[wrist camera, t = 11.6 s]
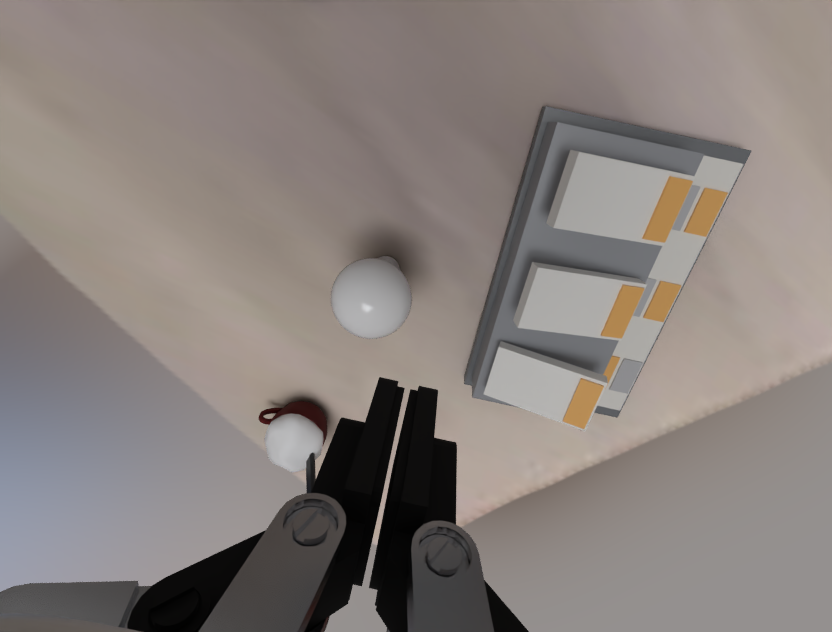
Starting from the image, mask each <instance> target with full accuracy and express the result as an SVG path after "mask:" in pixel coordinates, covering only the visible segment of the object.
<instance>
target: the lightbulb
mask: <svg viewBox="0 0 832 632" xmlns="http://www.w3.org/2000/svg"><path fill="white" fill-rule="evenodd" d="M411 304H412V293H411V288H410V285H409V283H408V280H407V279H406V277H405V275H404V274H403V273H402V272H401V271H400V267H399V264H398V263H397V261H396V260H395V259H393V258H392V257H389V256H381V257H379V258H366V259H361V260H357V261H355V262H353V263H351V264H349V265H348V266H346V267H345V268H344V269H343V270H342V271H341V272H340V273H339V275H338V276H337V278H336V279H335V281H334V284H333V287H332V291H331V306H332V310H333V313H334V315H335V317H336V319H337V321H338V322H339V323H340V325H341V326H342V327H343V328H344V329H345V330H347V331H348V332H350V333H351V334H353V335H355V336H358V337H361V338H366V339H377V338H382V337H385V336H388V335H390V334H392V333H393V332H395V331H396V330H397V329H399V328H400V327H401V326H402V324H403V323H404V322H405V320H406V319H407V317H408V315H409V312H410V309H411Z"/></svg>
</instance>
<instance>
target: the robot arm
mask: <svg viewBox="0 0 832 632" xmlns="http://www.w3.org/2000/svg"><path fill="white" fill-rule="evenodd" d="M397 385H398V381H395V380H390V379H385V378H381V377H380V378H379V380H378V383H377V387H376V390H375V393H374V396H373V399H372V403H371V406H370V409H369V412H368V415H367V418H366V422H360V421H356V420H351V419H346V418H341V419H340V421H339V423H338V426H337V428H336V431H335V433H334V436H333V438H332V441H331V443H330V446H329V448H328V451H327V453H326V456H325V458H324V461H323V463H322V466H321V468H320V471H319V473H318V476H317V478H316V481H315V483H314V486H313V488H312V491H311V493H306V494H302V495H299V496H296V497H294V498H293V499H291V500H289V501H288V502H286V503H285V505H284V506H283V507H282V508H281V509H280V510H279V512H278V513H277V515H276V516H275V518H274V519H273V521H272V522H271V524H270V525H269V527H268V528H267V530H266V531H263V532H261V533H259V534H257V535H255V536H253V537H250V538H248V539H247V540H244V541H242V542H240V543H238V544H236V545H233V546H231V547H229V548H227V549H225V550H223V551H221V552H219V553H217V554H214V555H212V556H210V557H208V558H206V559H204V560H202V561H200V562H197V563H195V564H193V565H191V566H189V567H187V568H185V569H183V570H180V571H178V572H176V573H174V574H172V575H170V576H168V577H166V578H164V579H162V580H161V581H159V582H157V583H156V584H154V585H153V586H138V581H119V582H118V581H117V582H76V583H74V582H73V583H34V584H33V583H32V584H31V583H30V584H24V585H19V586H14V587H11V588H9V589H6V590H4V591H2V592H0V632H324V631H325V629H326V626H327V624H328V620H329V616H330V615H331V614H333V613H335V612H336V611H338V610H339V609H341V608H342V607H344V606H345V605H347V604H348V601H349V599H350V594H351V590H352V585H353V584H354V585H358V586H362V583H363V579H364V574H365V570H366V565H367V561H368V556H369V552H370V547H371V543H372V538H373V534H374V529H375V525H376V521H377V516H378V512H379V507H380V503H381V498H382V493H383V489H384V484H385V479H386V474H387V470H388V465H389V460H390V455H391V451H392V446H393V441H394V436H395V431H396V427H397V422H398V417H399V412H400V407H401V403H402V398H403V393H404V388H402V387H398V386H397ZM437 396H438V390H436V389H431V388H426V387H422V386H419V388H418V391H416V390H410V394H409V398H408V402H407V407H406V411H405V415H404V420H403V424H402V429H401V433H400V437H399V442H398V446H397V450H396V455H395V459H394V463H393V468H392V473H391V478H390V483H389V488H388V493H387V499H386V504H385V509H384V514H383V519H382V524H381V529H380V534H379V539H378V545H377V550H376V555H375V560H374V565H373V570H372V575H371V581H370V586H369V588H372V589H377V590H378V591H377V597H376V602H375V605H376V606H377V608H376V611H377V612H378V614H379V615H380V617H381V619H382V620H383V622H384V623H385V625H386V626H387V632H528V630H527V629H526V628H525V627H524V626H523V624H521V622H520V621H519V620H518V619H517V617H516V616H515V615H514V614H513V613H512V612H511V611H510V609H509V608H508V607H507V606H506V605H505V604H504V602H503V601H502V600H501V599H500V598H499V597H498V596H497V594H496V593H495V592H494V591H493V590H492V588H491V587H490V586H489V585H488V584H487V583H486V582H485V580H484V577H483V572H482V567H481V562H480V557H479V553H478V550H477V547H476V544H475V543H474V541H473V539H472V538H471V537H470V535H469V534H468V533H466V531H464V530H463V529H462V528H461V527H459V526H457V525H456V466H457V445H456V442H451V441H446V440H442V439H437V438H434V432H435V420H436V408H437Z"/></svg>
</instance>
